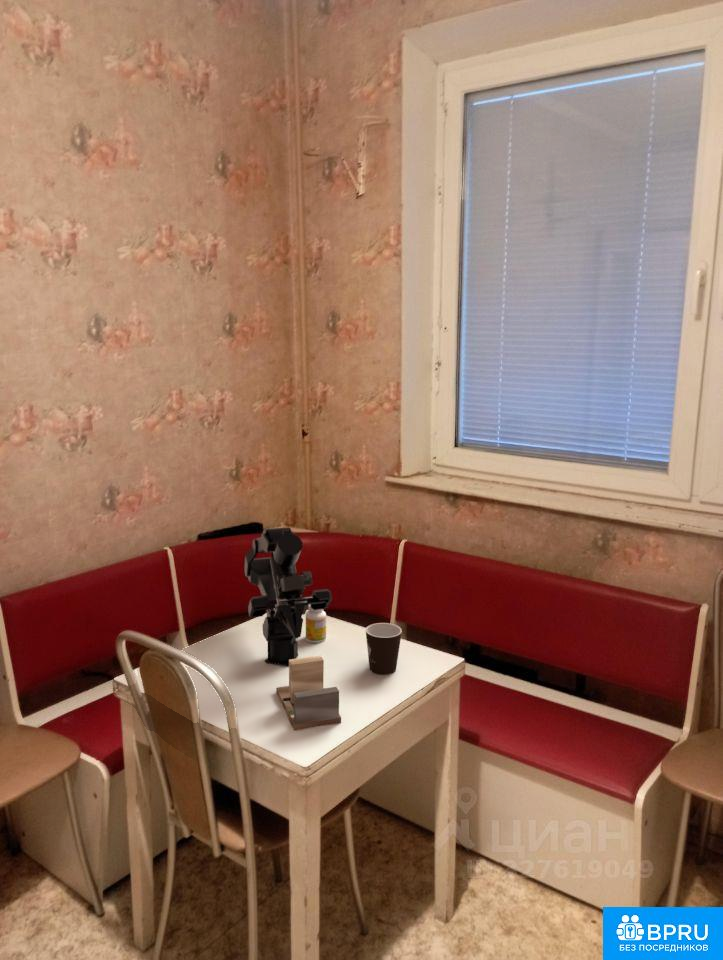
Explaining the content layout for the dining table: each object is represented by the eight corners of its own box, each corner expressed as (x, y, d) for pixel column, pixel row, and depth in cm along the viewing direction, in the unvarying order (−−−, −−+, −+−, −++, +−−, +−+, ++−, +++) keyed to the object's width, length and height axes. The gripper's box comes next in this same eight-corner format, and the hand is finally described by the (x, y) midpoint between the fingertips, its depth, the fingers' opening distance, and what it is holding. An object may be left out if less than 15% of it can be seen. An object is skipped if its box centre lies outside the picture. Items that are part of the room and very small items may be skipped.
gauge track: (276, 692, 161) (276, 662, 160) (319, 686, 164) (319, 656, 163) (294, 730, 146) (294, 698, 144) (341, 722, 149) (341, 690, 148)
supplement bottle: (302, 636, 191) (302, 602, 189) (321, 633, 193) (322, 599, 191) (309, 644, 186) (309, 609, 184) (328, 641, 188) (329, 606, 186)
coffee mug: (397, 679, 168) (398, 639, 166) (361, 675, 170) (362, 635, 168) (404, 657, 179) (405, 620, 177) (370, 654, 181) (371, 616, 179)
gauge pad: (281, 699, 155) (281, 660, 153) (320, 693, 158) (320, 655, 156) (284, 704, 153) (284, 665, 151) (323, 698, 156) (323, 660, 154)
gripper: (249, 563, 160) (260, 628, 152) (330, 556, 166) (344, 618, 158) (244, 585, 169) (253, 648, 161) (320, 577, 175) (333, 637, 167)
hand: (296, 637), depth 161 cm, fingers closed
